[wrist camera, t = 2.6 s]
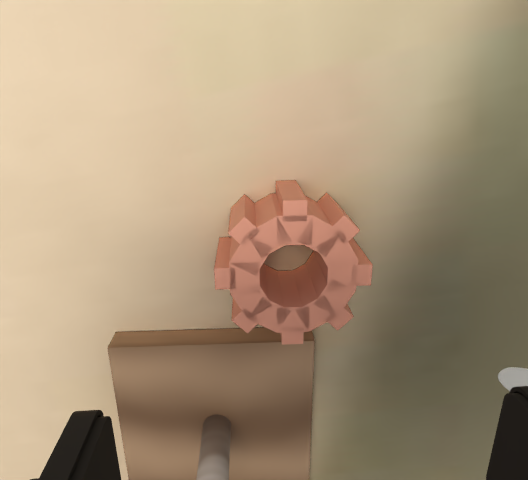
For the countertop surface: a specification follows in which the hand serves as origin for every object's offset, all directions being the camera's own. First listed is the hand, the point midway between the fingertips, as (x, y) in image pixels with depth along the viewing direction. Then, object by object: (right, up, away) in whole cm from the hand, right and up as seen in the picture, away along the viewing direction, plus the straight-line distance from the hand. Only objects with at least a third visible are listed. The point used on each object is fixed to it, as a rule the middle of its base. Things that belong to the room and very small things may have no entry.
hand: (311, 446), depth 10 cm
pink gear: (0, +5, +12) cm, 13 cm away
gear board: (-4, -11, +17) cm, 21 cm away
